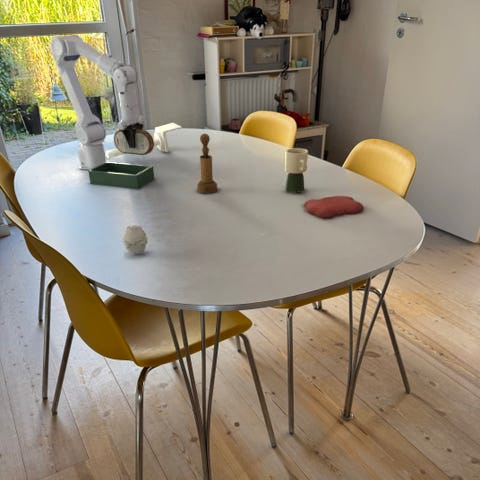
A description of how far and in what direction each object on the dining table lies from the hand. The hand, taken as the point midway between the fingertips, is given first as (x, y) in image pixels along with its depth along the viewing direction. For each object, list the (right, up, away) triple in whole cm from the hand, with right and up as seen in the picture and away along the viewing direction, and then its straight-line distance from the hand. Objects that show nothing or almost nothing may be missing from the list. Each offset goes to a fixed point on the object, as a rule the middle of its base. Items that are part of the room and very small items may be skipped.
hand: (134, 146), depth 172 cm
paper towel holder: (-2, +8, +30) cm, 32 cm away
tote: (-4, -13, -1) cm, 13 cm away
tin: (0, -2, +1) cm, 3 cm away
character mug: (+56, -19, -12) cm, 60 cm away
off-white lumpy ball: (+12, -45, -50) cm, 69 cm away
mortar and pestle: (+27, -19, -10) cm, 34 cm away
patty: (+66, -28, -26) cm, 76 cm away
